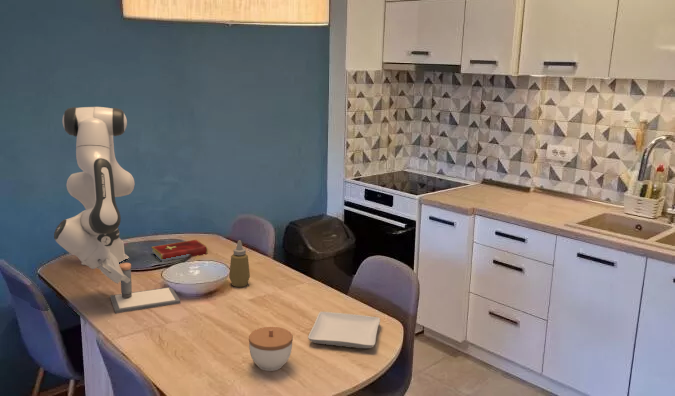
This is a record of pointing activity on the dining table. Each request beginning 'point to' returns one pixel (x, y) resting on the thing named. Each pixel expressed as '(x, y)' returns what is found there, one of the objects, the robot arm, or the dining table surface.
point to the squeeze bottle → (239, 267)
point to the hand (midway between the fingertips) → (127, 278)
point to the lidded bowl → (270, 347)
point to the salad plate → (344, 330)
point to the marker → (125, 287)
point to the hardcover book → (180, 249)
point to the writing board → (144, 300)
